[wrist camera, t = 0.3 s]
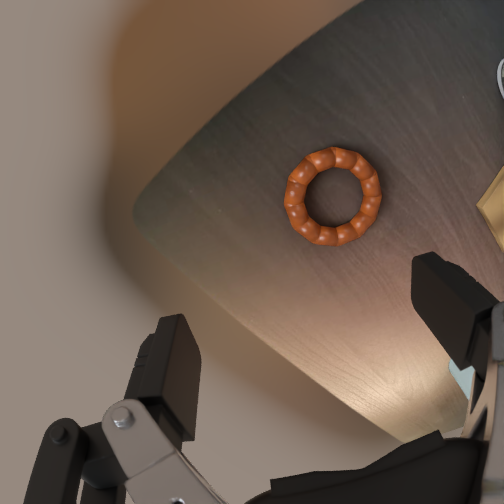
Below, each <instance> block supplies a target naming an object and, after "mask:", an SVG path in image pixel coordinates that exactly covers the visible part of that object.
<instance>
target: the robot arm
mask: <svg viewBox="0 0 504 504" xmlns="http://www.w3.org/2000/svg"><path fill="white" fill-rule="evenodd" d="M411 300H412V304H413V307H414V309H415V310H416V312H417V313H418V314H419V316H420V317H421V318H422V320H423V321H424V322H425V324H426V325H427V326H428V328H429V329H430V330H431V331H432V333H433V334H434V336H435V337H436V338H437V340H438V341H439V342H440V344H441V345H442V346H443V348H444V349H445V351H446V352H447V353H448V355H449V356H450V358H451V359H452V360H453V362H454V363H455V365H456V366H457V367H458V369H459V370H460V371H462V370H464V369H466V368H468V367H470V366H472V367H473V368H474V369H475V370H474V373H473V377H472V384H471V392H470V399H469V405H468V411H467V416H466V421H465V425H464V428H463V431H462V433H461V436H460V437H459V438H457V437H456V438H455V437H454V438H445V439H443V437H442V436H441V433H440V431H439V430H437V431H434V432H432V433H430V434H428V435H425V436H423V437H420V438H418V439H416V440H413V441H411V442H408V443H406V444H403V445H401V446H400V447H398V448H396V449H395V450H393V451H392V452H390V453H388V454H387V455H385V456H384V457H382V458H380V459H379V460H377V461H375V462H374V463H372V464H370V465H368V466H367V467H365V468H362V469H357V470H343V471H313V472H309V473H304V474H299V475H294V476H289V477H283V478H277V479H270V483H271V490H268V491H266V492H263V493H261V494H259V495H257V496H255V497H254V498H252V499H250V500H249V501H247V502H246V503H245V504H504V301H503V302H499V301H498V300H497V299H496V298H495V297H494V296H493V295H492V294H491V293H490V292H489V291H488V290H487V289H485V288H484V287H483V286H482V285H481V284H480V283H479V282H476V280H475V279H474V278H473V277H472V276H471V275H470V276H469V274H468V273H467V272H466V271H465V270H464V269H463V268H461V267H460V266H458V265H456V264H454V263H451V262H449V261H444V260H443V259H442V258H441V257H440V256H439V255H437V254H436V253H435V252H428V253H425V254H422V255H418V256H415V257H414V258H413V259H412V277H411ZM137 357H138V358H136V361H135V365H134V366H135V367H134V368H133V371H132V374H131V377H130V380H129V383H128V387H127V390H126V393H125V396H124V399H123V400H121V401H118V402H117V403H115V404H113V405H112V406H111V407H110V408H109V409H108V410H107V411H106V412H105V414H104V416H103V419H102V422H98V423H95V424H92V425H89V426H85V427H82V428H81V427H80V426H79V425H78V424H77V423H76V422H75V421H74V420H73V419H70V418H62V419H59V420H57V421H55V422H54V423H52V424H51V425H50V426H49V427H48V429H47V430H46V432H45V434H44V437H43V440H42V443H41V446H40V449H39V452H38V455H37V458H36V461H35V464H34V467H33V471H32V474H31V477H30V481H29V484H28V488H27V491H26V495H25V499H24V503H23V504H76V500H77V494H78V489H79V484H80V479H81V478H82V479H83V480H84V485H83V490H82V496H81V501H80V504H125V498H126V489H127V491H128V493H129V495H130V496H131V498H132V500H133V502H134V503H135V504H228V502H227V501H225V500H224V499H223V498H222V497H221V496H220V495H219V494H218V493H217V492H216V491H215V489H214V488H213V487H212V486H211V485H210V484H209V483H208V482H207V481H206V480H205V478H204V477H203V476H202V475H201V474H200V473H199V472H198V471H197V469H196V468H195V467H194V466H193V465H192V464H191V462H190V461H189V460H188V459H187V458H186V456H185V455H184V454H183V453H182V452H181V449H182V442H184V441H194V440H195V427H196V415H197V404H198V392H199V382H200V372H201V355H200V351H199V348H198V345H197V343H196V341H195V339H194V336H193V334H192V332H191V330H190V328H189V325H188V323H187V321H186V319H185V317H184V315H183V314H176V315H171V316H166V317H161V318H160V319H159V322H158V325H157V329H156V332H155V333H154V334H149V336H148V337H147V338H146V339H145V341H144V342H143V343H142V345H141V346H140V349H139V352H138V356H137Z"/></svg>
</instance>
